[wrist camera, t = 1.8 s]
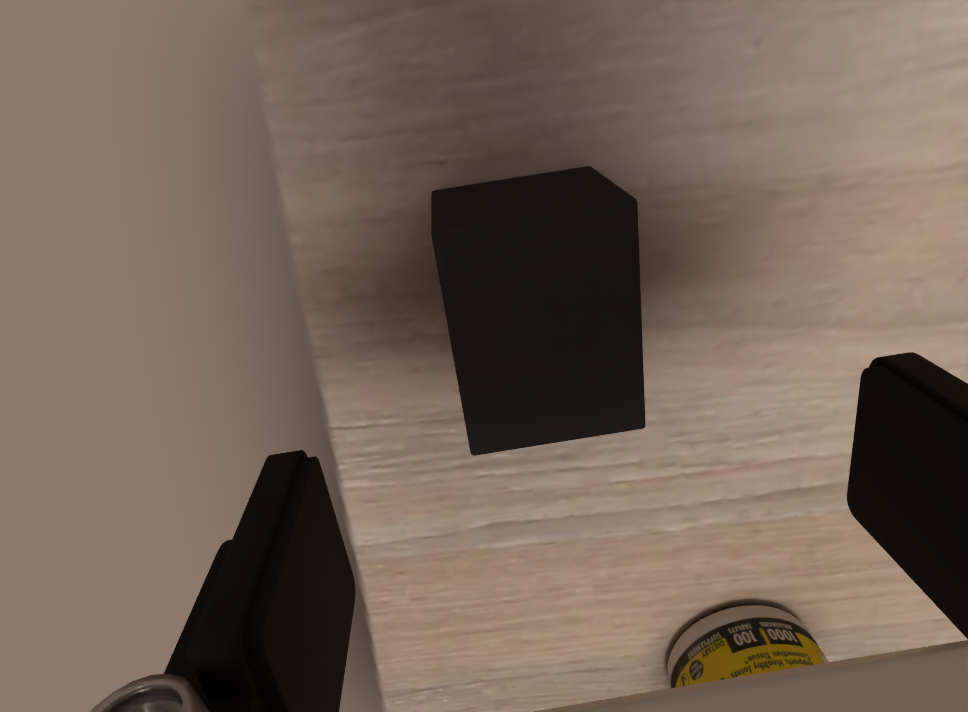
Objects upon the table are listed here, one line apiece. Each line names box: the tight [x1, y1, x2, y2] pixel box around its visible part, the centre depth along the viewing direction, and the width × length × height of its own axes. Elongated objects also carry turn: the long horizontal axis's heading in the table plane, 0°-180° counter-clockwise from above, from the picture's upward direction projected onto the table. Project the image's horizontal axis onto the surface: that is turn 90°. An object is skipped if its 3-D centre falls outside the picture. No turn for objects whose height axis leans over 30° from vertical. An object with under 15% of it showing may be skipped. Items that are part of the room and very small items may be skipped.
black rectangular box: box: [431, 166, 645, 455], centre depth 17 cm, size 6×5×5 cm
